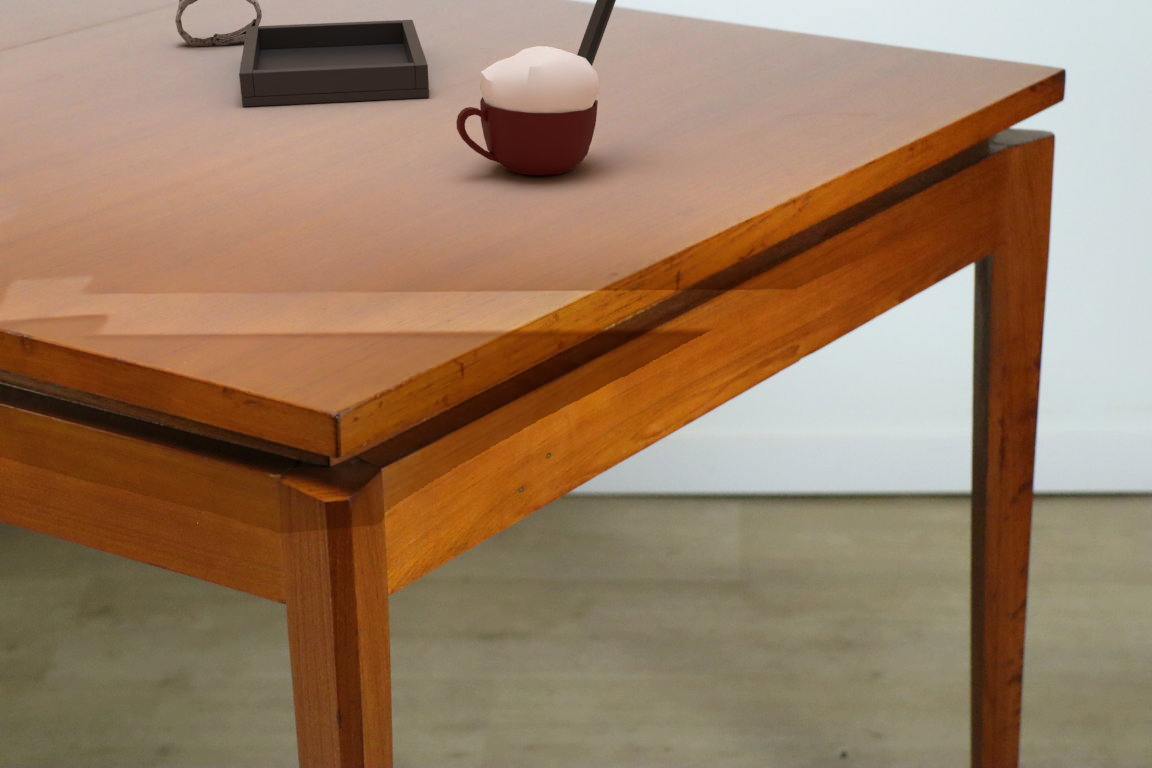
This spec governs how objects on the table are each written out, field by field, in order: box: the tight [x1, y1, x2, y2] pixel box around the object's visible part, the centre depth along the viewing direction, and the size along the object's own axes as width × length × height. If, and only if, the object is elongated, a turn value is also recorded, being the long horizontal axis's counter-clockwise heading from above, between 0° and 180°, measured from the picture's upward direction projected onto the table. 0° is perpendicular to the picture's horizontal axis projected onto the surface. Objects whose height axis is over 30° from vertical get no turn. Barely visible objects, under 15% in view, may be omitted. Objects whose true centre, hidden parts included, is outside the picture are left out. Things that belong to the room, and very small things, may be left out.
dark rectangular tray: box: [238, 19, 430, 108], centre depth 101 cm, size 12×15×2 cm
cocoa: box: [456, 0, 617, 176], centre depth 79 cm, size 10×6×12 cm, turn 90°
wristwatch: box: [174, 0, 263, 48], centre depth 110 cm, size 4×6×5 cm, turn 99°
